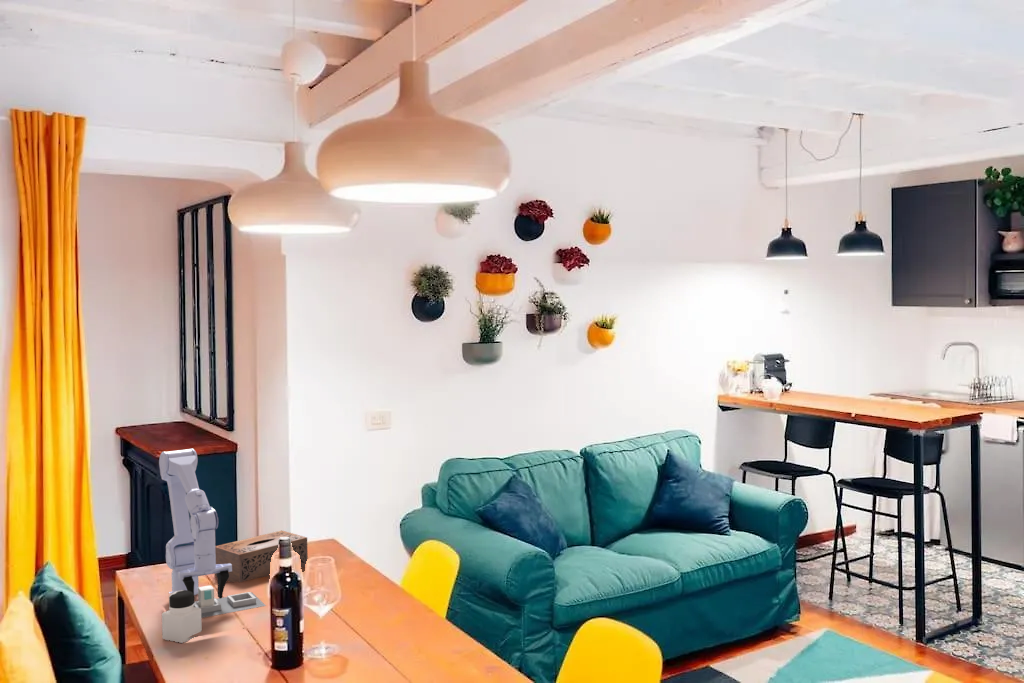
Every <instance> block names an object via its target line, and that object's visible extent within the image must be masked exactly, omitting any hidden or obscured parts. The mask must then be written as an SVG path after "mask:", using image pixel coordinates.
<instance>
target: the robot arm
mask: <svg viewBox="0 0 1024 683" xmlns="http://www.w3.org/2000/svg"><path fill="white" fill-rule="evenodd" d="M198 460H199V459H198V454H197V451H196V450H195V449H194V448H191V447H190V448H187V449H178V450H170V451H161V453H160V454H159V460H158V466H159V474H160V477H161V480H162V481H165V482H166V483H167V488H168V494H169V496H168V497H169V501H170V502H169V503H170V511H171V517H172V518H171V519H172V520H171V521H172V525H173V534H174V535H173V536H172V538H171V539H170V540H168V542H167V543H166V544H165V562H166V564H167V568H169V569H170V570H171V591H169V592H168V594H172V593H174V592H176V591H180V590H188V591H191V592H192V593H193V603H194V602H195V596H196V595H197V596H198V587H200V586H199V577H201V576H203V577H204V576H208V575H215V573H217V577H216V580H217V597H218V598H223V594H224V591H225V590H224V589H225V586H226V584H227V582H228V581H227V580H228V578H229V573H228V572H231V571H232V564H230V563H228V564H216V552H215V546H216V530H217V529H218V527H219V517H218V513H217V511H216V509H215V508H213V506H210V503H209V499H208V497H207V495H206V492H205V491H204V490H202V489H200V487H199V482H198V479H197V475H196V470H197V466H198V464H199V463H198Z"/></svg>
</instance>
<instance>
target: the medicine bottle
mask: <svg viewBox="0 0 1024 683" xmlns="http://www.w3.org/2000/svg"><path fill="white" fill-rule="evenodd" d="M193 606H194V603H193V593H192V592H191V591H188V590H180V591H176V592H174V593H169V596H168V610H166V611H164V612H162V613H161V628H162V629H161V631H162V634H161V635H162V640H164V639H165V641H169V640H170V641H169V642H173V641H175V643H178V642H179V643H178V644H184V643H186V642H188V641H191V640H192V638H193V639H195V638H197V637H196V636H197V635H196V634H199V633H201V632H202V631H203V630H202V618H201V609H200V608H196V607H193ZM194 635H196V636H194ZM194 637H195V638H194ZM190 639H191V640H190ZM183 642H184V643H183Z"/></svg>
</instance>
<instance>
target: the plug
mask: <svg viewBox="0 0 1024 683" xmlns="http://www.w3.org/2000/svg"><path fill="white" fill-rule="evenodd" d="M197 596H198V598H197V600H198V606H199V608H200V607H205V606H210V605H214V598H215V588H214V587H213V586H212V585H211V584H210V585H209V584H208V585H204V586H203V585H202V586H199V587H198V594H197Z"/></svg>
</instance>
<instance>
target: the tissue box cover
mask: <svg viewBox="0 0 1024 683" xmlns="http://www.w3.org/2000/svg"><path fill="white" fill-rule="evenodd" d="M280 537H289V538H290V539H291V543H292V547H293V550H294V551H295V552H297V553H298V554H299V555H300V559H301V567H302V568H301V569H303V568H306V567H305V564H306V561H307V559H308V560H309V557H308V555H309V554H308V553H309V552H308V537H306V536H303V535H299V534H297V533H293V532H292V533H291V532H288V531H284V530H278V531H273V532H268V533H264V534H261V535H256V536H253V537H249V538H244V539H240V540H236V541H232V542H227V543H222V544H219V545H215V552H216V564H228V563H230V564H232V571H231V572H228V573H229V578H228V580H227V582H228V581H230V582H229V583H231V582H232V583H237V582H238V583H242V582H243V583H244V582H245V581H246V582H248V581H250V580H255V579H261V578H265V577H270V576H269V574H270V562H271V557H272V555H273V553H274V552H275V551H276V550H277V548H278V540H279V538H280ZM215 576H216V577H215ZM214 577H215V578H217V573H215V574H214Z"/></svg>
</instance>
